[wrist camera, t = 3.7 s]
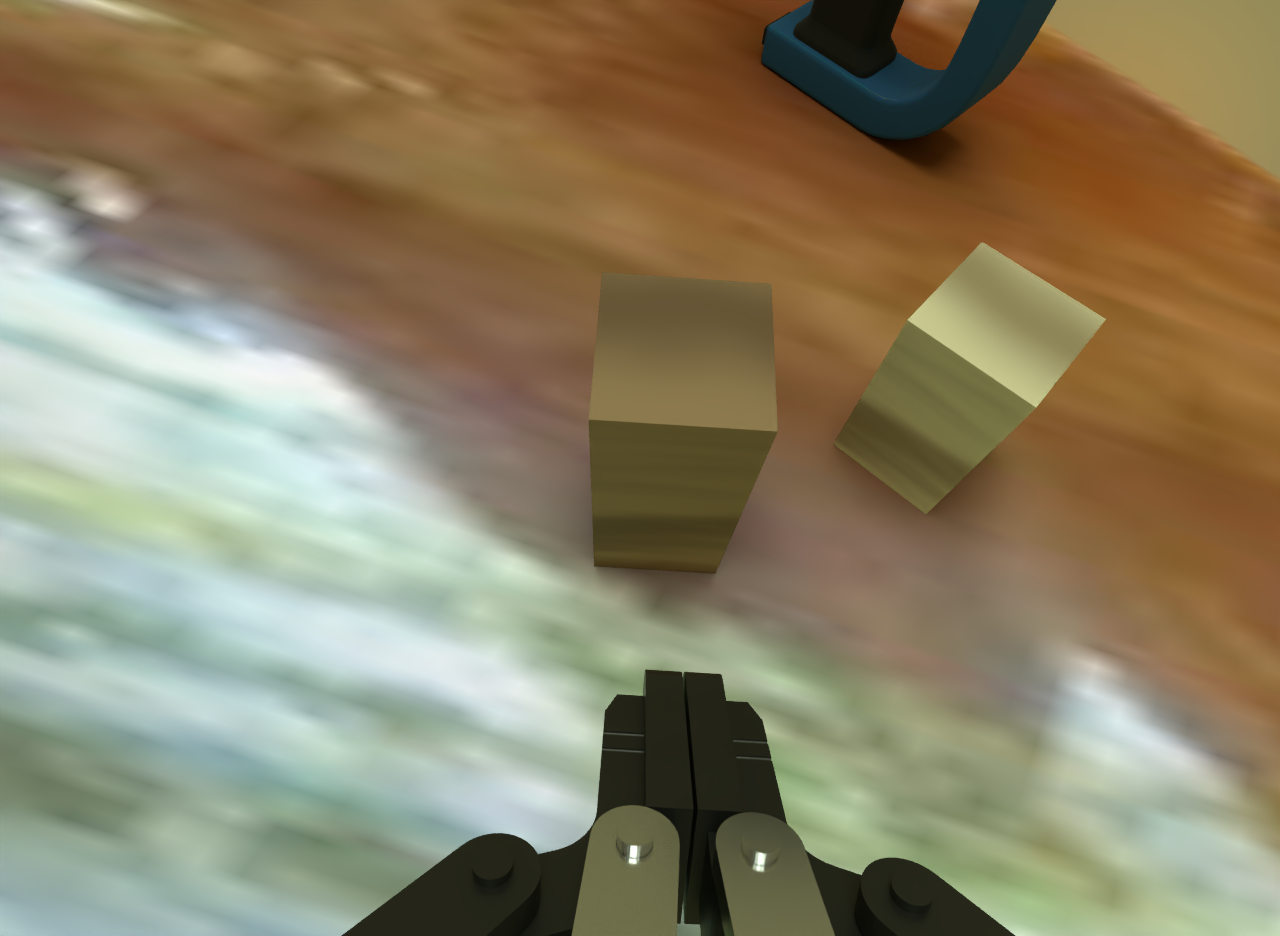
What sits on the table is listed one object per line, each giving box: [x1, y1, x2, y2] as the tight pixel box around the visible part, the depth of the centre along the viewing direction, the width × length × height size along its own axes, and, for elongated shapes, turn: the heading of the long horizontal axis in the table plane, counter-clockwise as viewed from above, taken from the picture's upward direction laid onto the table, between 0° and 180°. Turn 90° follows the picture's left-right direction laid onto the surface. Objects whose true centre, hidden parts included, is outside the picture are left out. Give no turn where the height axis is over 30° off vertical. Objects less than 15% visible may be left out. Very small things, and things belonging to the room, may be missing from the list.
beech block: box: [834, 242, 1106, 514], centre depth 29 cm, size 5×5×9 cm
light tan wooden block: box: [589, 272, 778, 573], centre depth 26 cm, size 5×5×12 cm
